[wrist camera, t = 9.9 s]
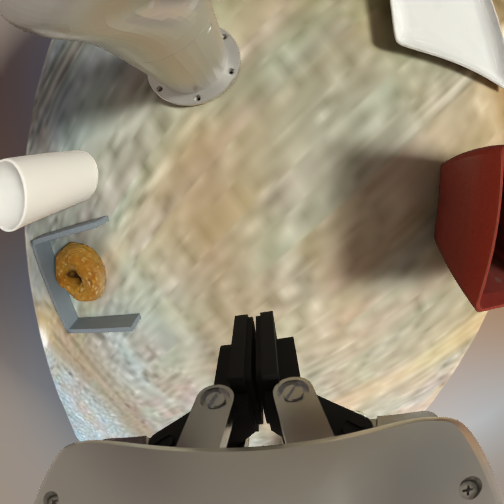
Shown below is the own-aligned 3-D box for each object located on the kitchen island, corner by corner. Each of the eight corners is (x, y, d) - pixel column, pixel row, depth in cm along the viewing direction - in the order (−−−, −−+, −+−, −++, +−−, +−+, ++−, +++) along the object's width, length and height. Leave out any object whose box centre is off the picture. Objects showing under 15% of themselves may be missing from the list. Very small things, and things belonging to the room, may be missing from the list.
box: (44, 233, 39) (30, 241, 35) (107, 215, 38) (94, 222, 34) (77, 321, 45) (67, 333, 41) (141, 317, 44) (132, 331, 40)
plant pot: (413, 261, 40) (474, 314, 24) (423, 139, 33) (502, 142, 18) (488, 257, 39) (545, 296, 24) (499, 156, 33) (568, 171, 17)
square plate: (385, 50, 29) (397, 43, 26) (361, -62, 20) (367, -73, 16) (502, 94, 29) (516, 93, 25) (476, -14, 20) (485, -20, 16)
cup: (104, 192, 37) (34, 219, 22) (66, 209, 38) (-2, 240, 23) (90, 141, 34) (15, 145, 19) (53, 162, 35) (-19, 176, 20)
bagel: (62, 230, 39) (46, 239, 35) (115, 253, 40) (101, 265, 36) (58, 280, 42) (44, 291, 38) (107, 304, 44) (95, 318, 39)
